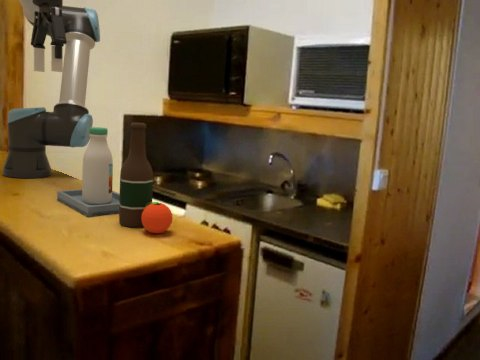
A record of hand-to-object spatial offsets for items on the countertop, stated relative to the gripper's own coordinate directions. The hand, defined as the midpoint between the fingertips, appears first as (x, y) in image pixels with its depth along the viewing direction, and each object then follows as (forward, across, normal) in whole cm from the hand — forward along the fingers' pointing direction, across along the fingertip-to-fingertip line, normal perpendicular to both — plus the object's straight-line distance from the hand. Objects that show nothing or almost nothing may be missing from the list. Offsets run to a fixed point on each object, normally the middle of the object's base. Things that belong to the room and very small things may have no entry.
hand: (47, 71), depth 125 cm
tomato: (+35, +47, +7) cm, 59 cm away
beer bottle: (+35, +39, +7) cm, 53 cm away
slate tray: (+35, +19, +6) cm, 40 cm away
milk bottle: (+34, +19, +6) cm, 39 cm away
